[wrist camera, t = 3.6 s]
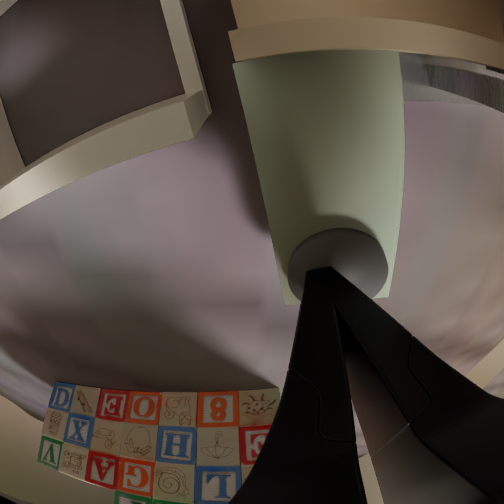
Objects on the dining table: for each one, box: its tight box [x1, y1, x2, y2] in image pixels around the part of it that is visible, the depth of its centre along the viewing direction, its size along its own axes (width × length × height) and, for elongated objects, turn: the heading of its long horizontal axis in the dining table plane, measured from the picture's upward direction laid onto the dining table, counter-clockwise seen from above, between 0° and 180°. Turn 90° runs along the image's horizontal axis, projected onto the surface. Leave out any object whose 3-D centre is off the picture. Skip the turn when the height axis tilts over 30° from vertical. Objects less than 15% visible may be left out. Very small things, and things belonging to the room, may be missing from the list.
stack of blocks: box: [37, 382, 280, 504], centre depth 16 cm, size 21×6×12 cm, turn 97°
